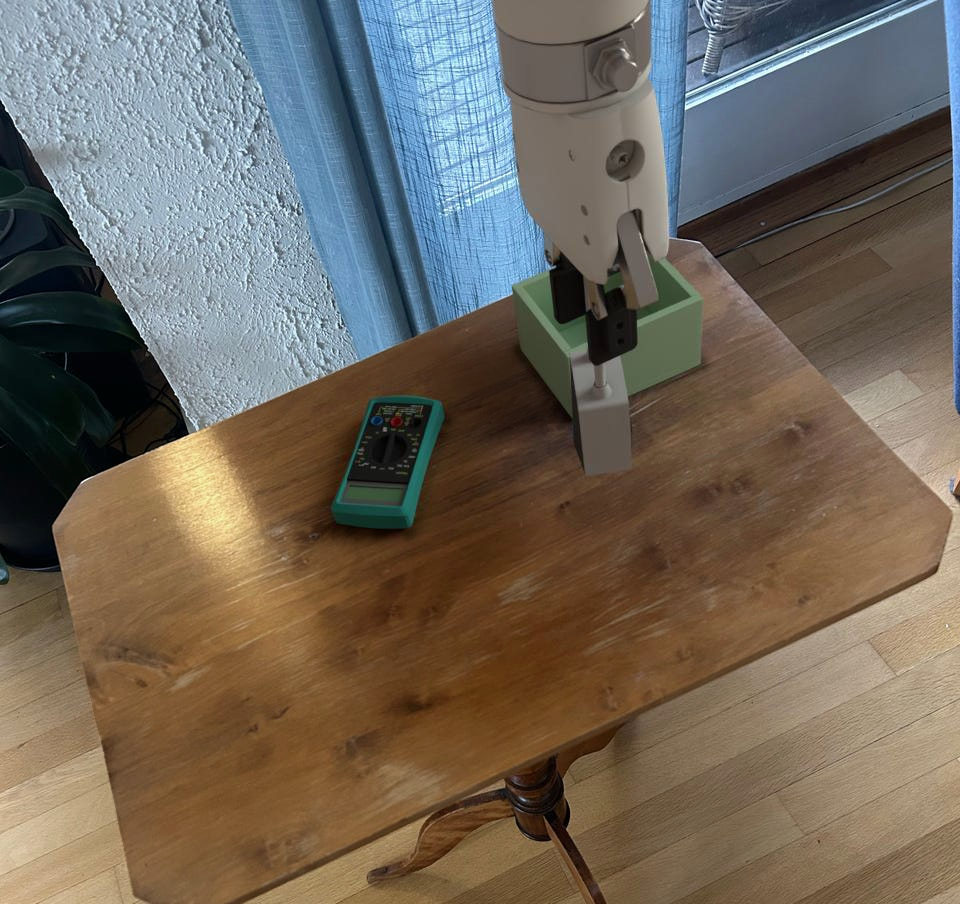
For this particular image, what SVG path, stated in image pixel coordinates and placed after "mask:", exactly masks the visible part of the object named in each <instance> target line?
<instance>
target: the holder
mask: <svg viewBox="0 0 960 904" xmlns="http://www.w3.org/2000/svg"><path fill="white" fill-rule="evenodd" d="M646 254H647V253H646ZM647 258H648V261H649V264H650V268H651V271H652V275H653V278H654V281H655V285H656V288H657V292H658V301H656V302H654V303H652V304H649V305H647V306H645V307H643V308H641V309H638V310H637V335H638V344H637V346H636V348H634V349H633V350H631V351H629V352H627V353H625V354H622V355H620V359H621V363H622V368H623V373H624V379H625V384H626V390H627V396H628V397H630V396H633V395H635V394H638V393H639V392H641V391H644V390H646V389H648V388H651V387H653V386H655V385H657V384H660V383H662V382H664V381H666V380H669V379H671V378H673V377H676V376H678V375H681V374H682V373H684V372H686V371H689V370H691V369H694V368H696V367H698V366H700V365H701V364H702V363H701V360H702V359H701V357H702V339H703V338H702V337H703V336H702V335H703V315H704V314H703V311H704V297H703V296H702V295H701V294H700V293H699V292H698V291H697V290H696V289H695V288H694V286H693V285H692V284H690V282H688V281H687V280H686V278H685V277H684V276H683V275H682V274H681V273H680V272H679V271H678V270H677V268H675V267H674V266H673V265H672V264H671V262H669V260H667V258H666V257H665V258H663V259H659V260H658V261H656V262H655V261H654V260H653V259H652V258H651V257H650V256H649V255H648V254H647ZM554 268H556V266H553V267H550V268H549V269H546V270H545V271H541V272H540V273H537V274H535V275H532V276H529V277H527V278H526V279H523V280H521V281H518V282H515V283H514V284H512V285H511V292H512V298H513V305H514V312H515V319H516V326H517V332H518V340H519V347H520V350H521V352H522V353H523V354H524V356H525V357H526V358H527V361H529V363H530V364H531V365H532V366H533V368H534V369H535V371H536V372H537V373H538V374H539V376H540V377H541V378H542V380H543V381H544V383H545V384H546V385H547V387H548V388H549V389H550V391H551V392H552V394H553V395H554V397H556V399H557V400H558V401H559V403H560V404H561V406H562V407H563V408H564V409H565V411H566V412H567V414H568V415H569V416H570V418H571V419H572V418H573V414H572V393H571V373H570V355H569V352H574V351H580V350H586V349H587V348H588V341H587V329H586V317H585V315H584V316H581V317H579V318H577V319H575V320H572V321H570V322H568V323H566V324H559V323H558V322H557V321H556V319H555V318H554V311H553V302H552V293H551V285H550V276H549V270H552V269H554ZM621 285H622V278H621V272H618V273H616V274H614V275H612V276H610V277H609V278H608V279H607V283H606V284H604V290H605V294H606V293H607V292H609V291H610V290H612V289H614V288H617V287H619V286H621Z"/></svg>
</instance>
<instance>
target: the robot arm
mask: <svg viewBox="0 0 960 904" xmlns="http://www.w3.org/2000/svg"><path fill="white" fill-rule="evenodd" d="M491 7H492V15H493V21H494V29H495V36H496V44H497V52H498V58H499V65H500V67H499V68H500V72H501V74H500V75H501V82H502V88H503V91H504V93H505V94H506V96H507V97H508V98H509V99H510V114H511V115H510V116H511V129H512V130H511V131H512V139H513V140H512V142H513V151H514V160H515V166H516V174H517V181H518V187H519V192H520V195H521V199H522V203H523V206H524V207H525V209H526V211H527V213H528V215H529V216H530V218H531V219H532V220H533V221H534V223H535V224H536V225H537V226H538V227H539V229H541V230H542V232H543V253H544V254H543V255H544V258H545V260H546V262H547V264H548V266H549V267H550V268H554V267H556V268H554V269H552V270H549V269H548V270H549V276H550V285H551V293H552V302H553V311H554V318H555V319H556V321H557V322H558V323H559V324H566V323H568V322H570V321H572V320H575V319H577V318H579V317H581V316H584V315H585V317H586V329H587V341H588V353H589V360H590V361H591V362H592V364H593V365H594V366H598V365H600V364H603V363H605V362H607V361H609V360H611V359H614V358H616V357H618V356H620V355H622V354H625V353H627V352H629V351H631V350H633V349H634V348H636V346H637V344H638V335H637V310H638V309H641V308H643V307H645V306H647V305H649V304H652V303H654V302H656V301H658V292H657V288H656V285H655V281H654V278H653V275H652V271H651V268H650V264H649V261H648V258H647V254H648V255H649V256H650V257H651V258H652V259H653V260H654V261H655V262H656V261H658V260H659V259H663V258H665V259H666V257H667V255H668V253H669V248H670V219H669V215H670V213H669V196H668V179H667V168H666V156H665V147H664V140H663V131H662V126H661V118H660V112H659V107H658V103H657V98H656V92H655V88H654V84H653V83H652V81H651V80H650V79H649V78H648V77H649V75H650V73H651V70H652V69H651V68H652V0H491ZM646 253H647V254H646ZM618 272H621V278H622V285H621V286H619V287H617V288H614V289H612V290H610V291H609V292H607V293H606V294H605V290H604V284H606V283H607V279H608V278H609V277H610V276H612V275H614V274H616V273H618ZM583 275H584V276H585V277H586V281H587V287H588V293H589V299H590V305H591V309H589V310H588V311H587V312H586V304H585V292H584V279H583Z"/></svg>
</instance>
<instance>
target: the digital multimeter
mask: <svg viewBox="0 0 960 904" xmlns="http://www.w3.org/2000/svg"><path fill="white" fill-rule="evenodd" d="M444 420H445V412H444V408H443V404H442V402H441V401H440V400H436V399H432V398H428V397H423V396H417V395H410V394H409V395H408V394H407V395H405V394H399V395H398V394H397V395H386V396H379V397H378V396H377V397H372V398H370V399H369V400H368V401H367V406H366V409H365V413H364V416H363V420H362V423H361V426H360V429H359V432H358V436H357V439H356V442H355V446H354V448H353V451H352V454H351V456H350V459H349V461H348V465H347V467H346V470H345V473H344V474H343V477H342V480H341V482H340V484H339V486H338V488H337V491H336V493H335V496H334V499H333V501H332V503H331V505H330V510H331V514H332V516H333V519H334V521H335V522H336V524H340V525H346V526H351V527H360V528H366V529H367V528H368V529H369V528H370V529H387V530H388V529H389V530H390V529H392V530H393V529H395V530H397V529H409V528H411V527H412V526H413V523H414V519H415V515H416V510H417V506H418V502H419V498H420V494H421V490H422V486H423V484H424V483H423V482H424V479H425V476H426V472H427V469H428V465H429V461H430V459H431V456H432V453H433V450H434V447H435V444H436V442H437V438H438V436H439V434H440V430H441V429H442V425H443V423H444Z"/></svg>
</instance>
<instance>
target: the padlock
mask: <svg viewBox="0 0 960 904" xmlns="http://www.w3.org/2000/svg"><path fill="white" fill-rule="evenodd" d="M583 279H584V292H585V304H586V312H587V311H588V310H589V309H591V305H590V299H589V293H588V287H587V281H586V277H585V276H584V275H583ZM569 355H570V373H571V393H572V414H573V418H571V427H572V428H571V431H572V440H573V445H574V448H575V451H576V453H577V456H578V459H579V462H580V465H581V467H582V470H583V474H584V476H585V477H590V476H591V477H592V476H597V475H603V474H604V475H605V474H611V473H617V472H624V471H625V472H626V471H630V470H633V423H632V417H631V413H630V403H629V396H627V390H626V384H625V379H624V373H623V368H622V363H621V359H620V356H618V357H616V358H614V359H611V360H609V361H607V362H605V363H603V364H600V365H598V366H594V365H593V364H592V362H591V361H590V360H589V353H588V348H587V349H586V350H580V351H574V352H569Z"/></svg>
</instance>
